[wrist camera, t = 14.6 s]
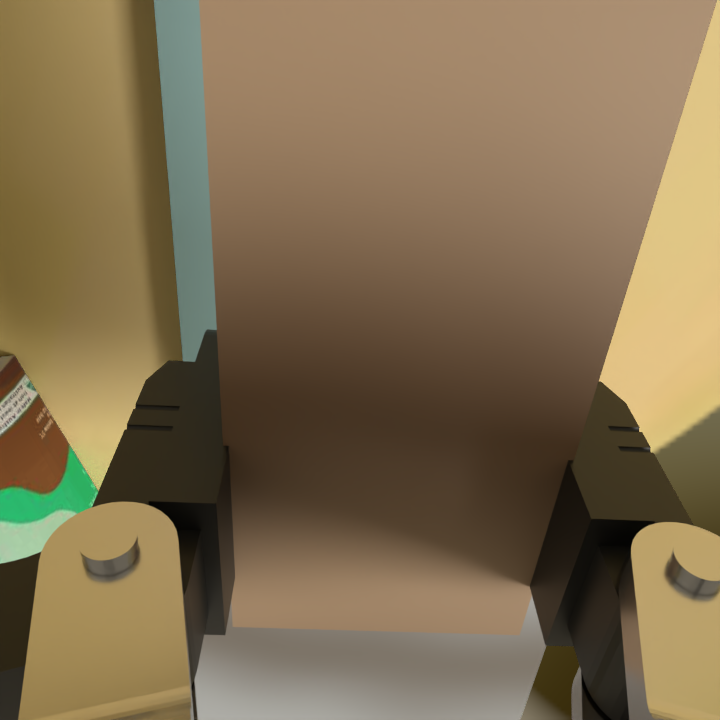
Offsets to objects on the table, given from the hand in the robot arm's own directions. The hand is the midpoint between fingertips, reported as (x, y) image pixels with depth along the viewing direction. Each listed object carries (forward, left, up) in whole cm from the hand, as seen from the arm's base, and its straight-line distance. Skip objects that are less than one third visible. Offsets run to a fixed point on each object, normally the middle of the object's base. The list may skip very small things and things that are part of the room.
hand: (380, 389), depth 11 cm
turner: (+2, 0, -1) cm, 3 cm away
